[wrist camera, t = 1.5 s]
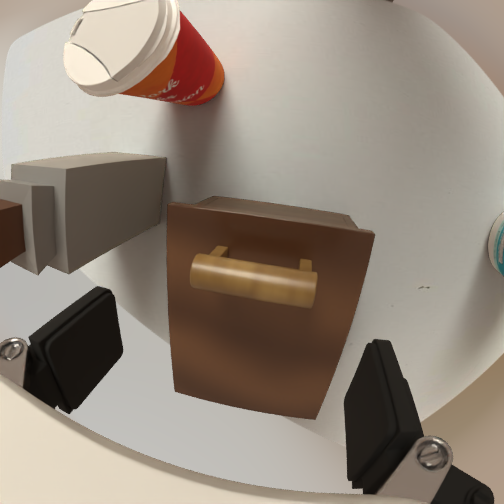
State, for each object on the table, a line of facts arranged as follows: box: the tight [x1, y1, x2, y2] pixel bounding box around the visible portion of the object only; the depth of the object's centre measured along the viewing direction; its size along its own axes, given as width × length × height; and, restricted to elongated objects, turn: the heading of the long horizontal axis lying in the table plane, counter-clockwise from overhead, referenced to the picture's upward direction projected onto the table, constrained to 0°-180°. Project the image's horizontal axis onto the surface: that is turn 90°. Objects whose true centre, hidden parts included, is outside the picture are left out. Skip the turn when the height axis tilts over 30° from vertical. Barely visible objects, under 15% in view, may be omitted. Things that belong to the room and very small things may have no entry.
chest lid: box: [167, 202, 375, 420], centre depth 18 cm, size 16×13×5 cm
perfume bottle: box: [0, 152, 166, 275], centre depth 19 cm, size 7×7×18 cm
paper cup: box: [63, 0, 224, 106], centre depth 16 cm, size 8×8×14 cm
